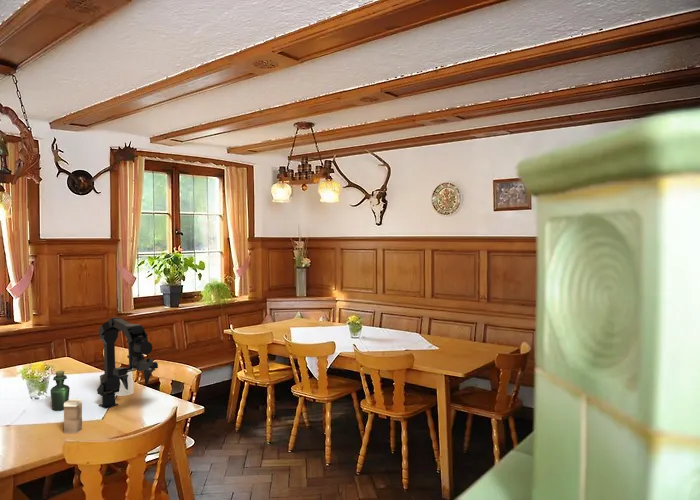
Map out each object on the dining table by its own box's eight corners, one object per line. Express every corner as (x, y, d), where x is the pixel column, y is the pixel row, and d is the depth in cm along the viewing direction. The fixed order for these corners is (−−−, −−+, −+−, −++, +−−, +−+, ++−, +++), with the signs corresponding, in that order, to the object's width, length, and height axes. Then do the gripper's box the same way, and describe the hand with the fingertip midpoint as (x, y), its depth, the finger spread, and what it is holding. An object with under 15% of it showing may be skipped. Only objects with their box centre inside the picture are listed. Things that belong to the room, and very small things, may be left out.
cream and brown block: (70, 429, 220) (70, 399, 219) (82, 429, 220) (81, 399, 220) (64, 433, 215) (63, 402, 214) (76, 433, 215) (75, 403, 215)
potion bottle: (53, 407, 248) (52, 370, 247) (71, 405, 250) (71, 369, 250) (48, 412, 240) (47, 374, 239) (67, 411, 242) (67, 373, 242)
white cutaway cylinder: (137, 392, 273) (137, 369, 272) (123, 396, 264) (123, 373, 264) (125, 389, 276) (125, 367, 276) (111, 394, 268) (111, 371, 268)
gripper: (123, 358, 220) (125, 394, 220) (163, 350, 235) (165, 384, 234) (111, 355, 227) (113, 391, 227) (151, 349, 242) (152, 382, 241)
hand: (136, 387), depth 232 cm, fingers open, 9 cm apart
